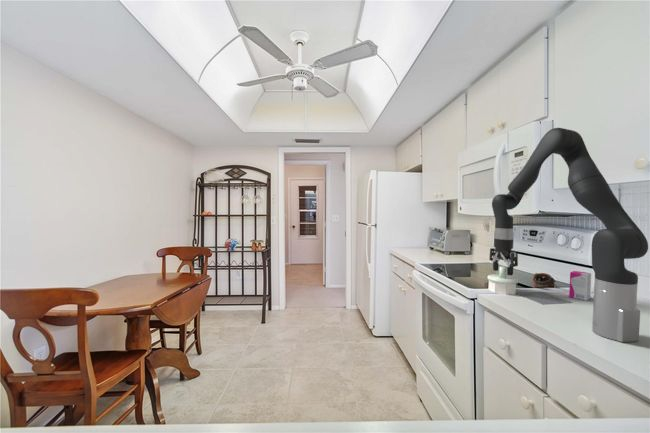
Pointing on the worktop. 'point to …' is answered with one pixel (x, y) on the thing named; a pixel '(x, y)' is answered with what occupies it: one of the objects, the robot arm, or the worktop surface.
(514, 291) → the bowl
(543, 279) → the pottery mug
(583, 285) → the supplement box
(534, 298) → the mat
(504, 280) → the lid
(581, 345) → the worktop surface
